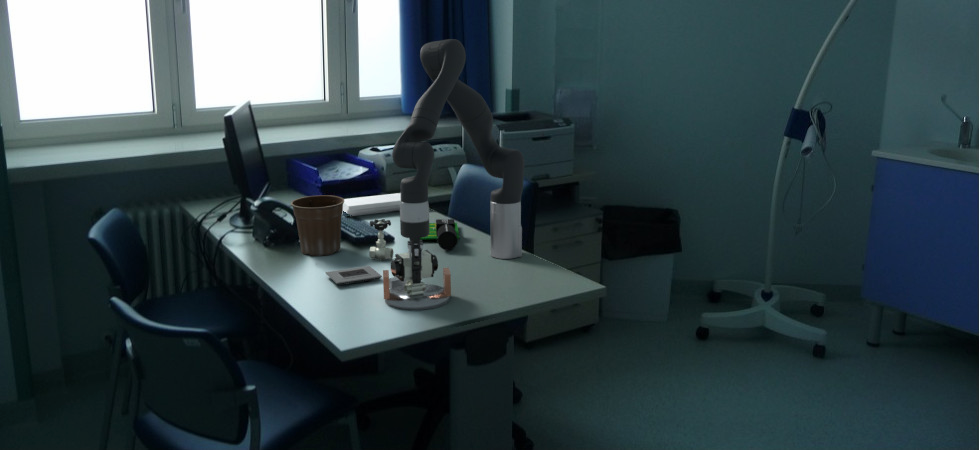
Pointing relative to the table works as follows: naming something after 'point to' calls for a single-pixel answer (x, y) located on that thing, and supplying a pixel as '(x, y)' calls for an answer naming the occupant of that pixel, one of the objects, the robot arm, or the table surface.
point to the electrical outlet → (353, 275)
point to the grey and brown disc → (427, 300)
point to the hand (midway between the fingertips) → (416, 279)
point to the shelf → (372, 204)
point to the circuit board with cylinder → (444, 233)
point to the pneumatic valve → (404, 271)
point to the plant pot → (319, 223)
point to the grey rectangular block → (395, 282)
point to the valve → (380, 241)
